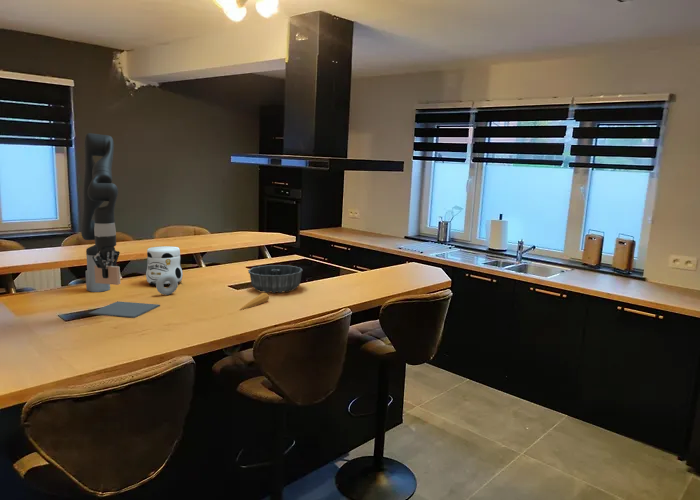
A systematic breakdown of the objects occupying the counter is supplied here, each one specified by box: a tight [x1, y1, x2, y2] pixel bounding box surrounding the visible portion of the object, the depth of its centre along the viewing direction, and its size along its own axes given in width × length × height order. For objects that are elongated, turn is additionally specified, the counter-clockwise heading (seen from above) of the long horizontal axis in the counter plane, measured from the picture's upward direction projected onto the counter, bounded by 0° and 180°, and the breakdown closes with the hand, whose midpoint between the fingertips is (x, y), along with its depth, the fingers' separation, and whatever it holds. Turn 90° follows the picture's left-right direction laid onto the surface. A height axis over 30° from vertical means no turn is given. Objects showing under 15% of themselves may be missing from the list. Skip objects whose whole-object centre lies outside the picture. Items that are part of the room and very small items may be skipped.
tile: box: [94, 265, 121, 286], centre depth 200 cm, size 10×2×7 cm, turn 78°
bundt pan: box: [247, 264, 303, 294], centre depth 247 cm, size 26×26×10 cm
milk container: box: [145, 245, 184, 286], centre depth 253 cm, size 17×17×18 cm
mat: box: [88, 301, 161, 319], centre depth 207 cm, size 20×18×1 cm
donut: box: [155, 274, 179, 296], centre depth 232 cm, size 10×4×10 cm, turn 130°
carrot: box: [238, 292, 270, 311], centre depth 218 cm, size 20×4×4 cm, turn 152°
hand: (107, 277), depth 200 cm, fingers closed on tile, 1 cm apart
